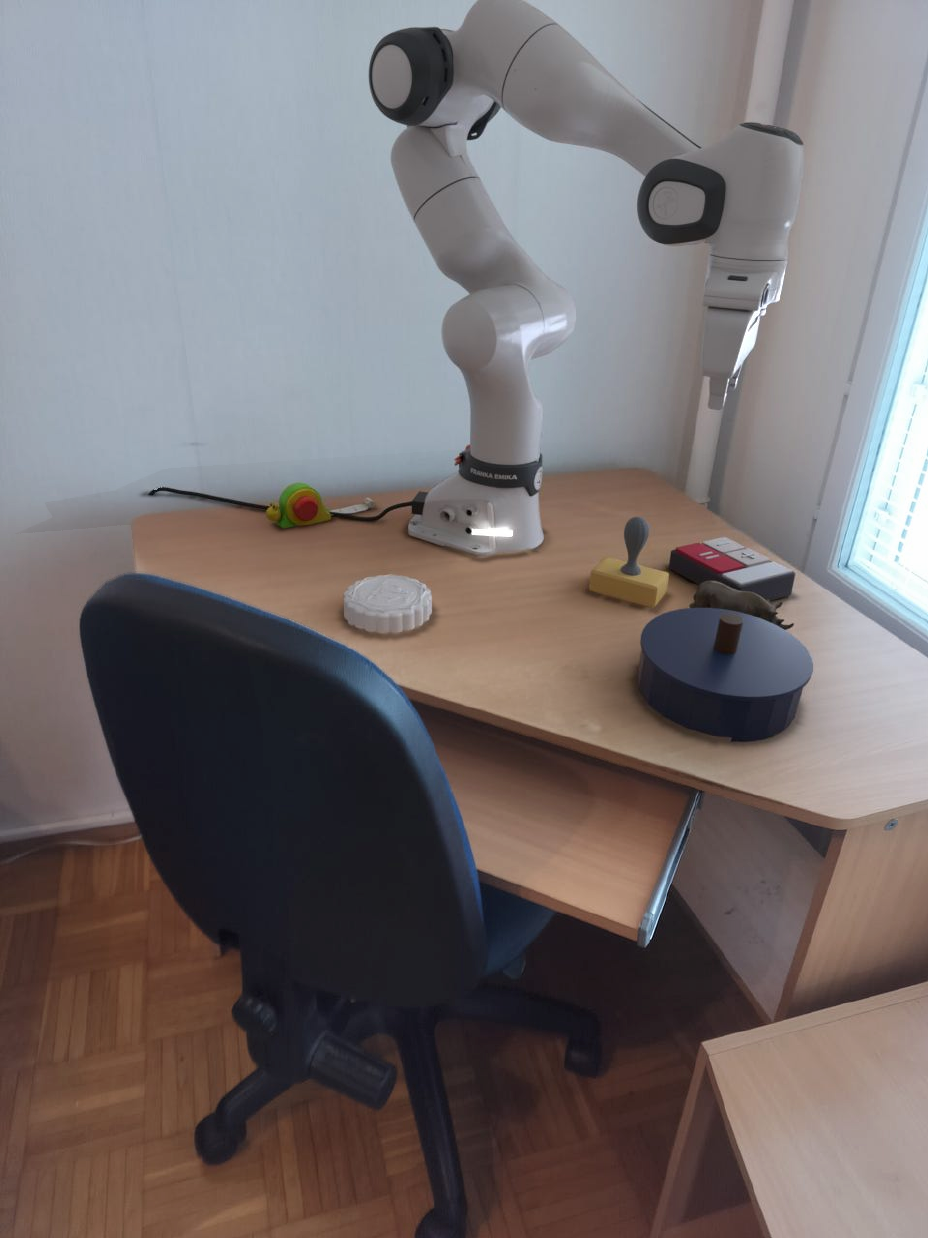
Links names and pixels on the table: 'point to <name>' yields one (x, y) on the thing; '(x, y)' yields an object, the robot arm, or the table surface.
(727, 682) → the pan lid
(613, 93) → the robot arm
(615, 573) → the rubber stamp
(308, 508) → the toy measuring tape
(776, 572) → the calculator
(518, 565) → the table surface
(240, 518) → the table surface
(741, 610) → the rhino figurine
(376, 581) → the mooncake
